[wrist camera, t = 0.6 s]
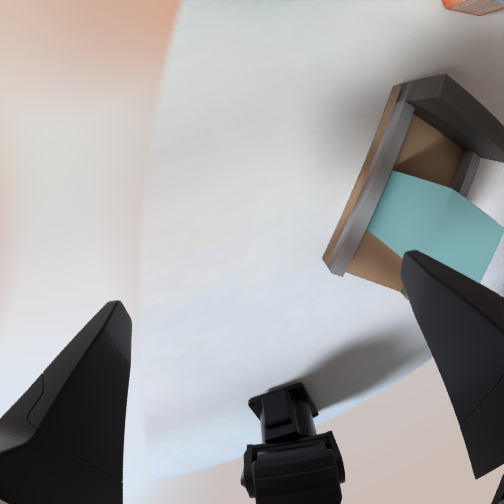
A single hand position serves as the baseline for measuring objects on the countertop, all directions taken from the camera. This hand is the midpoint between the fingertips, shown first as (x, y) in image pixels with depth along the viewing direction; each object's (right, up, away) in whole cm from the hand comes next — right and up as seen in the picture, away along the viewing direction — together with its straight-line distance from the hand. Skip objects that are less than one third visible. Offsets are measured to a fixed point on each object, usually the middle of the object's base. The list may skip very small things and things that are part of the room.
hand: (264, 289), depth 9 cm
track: (+13, +6, +15) cm, 20 cm away
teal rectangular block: (+12, +4, +13) cm, 19 cm away
